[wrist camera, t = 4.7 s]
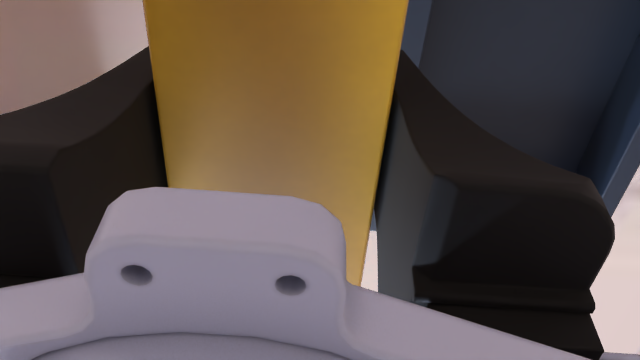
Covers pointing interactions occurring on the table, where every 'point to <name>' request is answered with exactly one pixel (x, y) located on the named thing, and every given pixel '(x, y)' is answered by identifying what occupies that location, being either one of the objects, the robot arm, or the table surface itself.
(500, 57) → the case
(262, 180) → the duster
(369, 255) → the table surface
